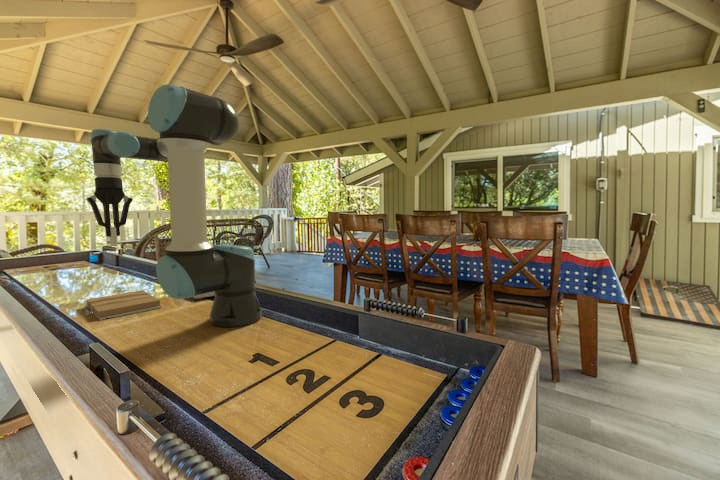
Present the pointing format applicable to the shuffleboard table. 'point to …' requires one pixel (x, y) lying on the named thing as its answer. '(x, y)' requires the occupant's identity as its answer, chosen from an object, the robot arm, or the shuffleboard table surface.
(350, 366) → the shuffleboard table surface
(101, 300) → the wavy wooden board
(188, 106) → the robot arm
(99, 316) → the wooden card stand
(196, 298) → the stone slab
